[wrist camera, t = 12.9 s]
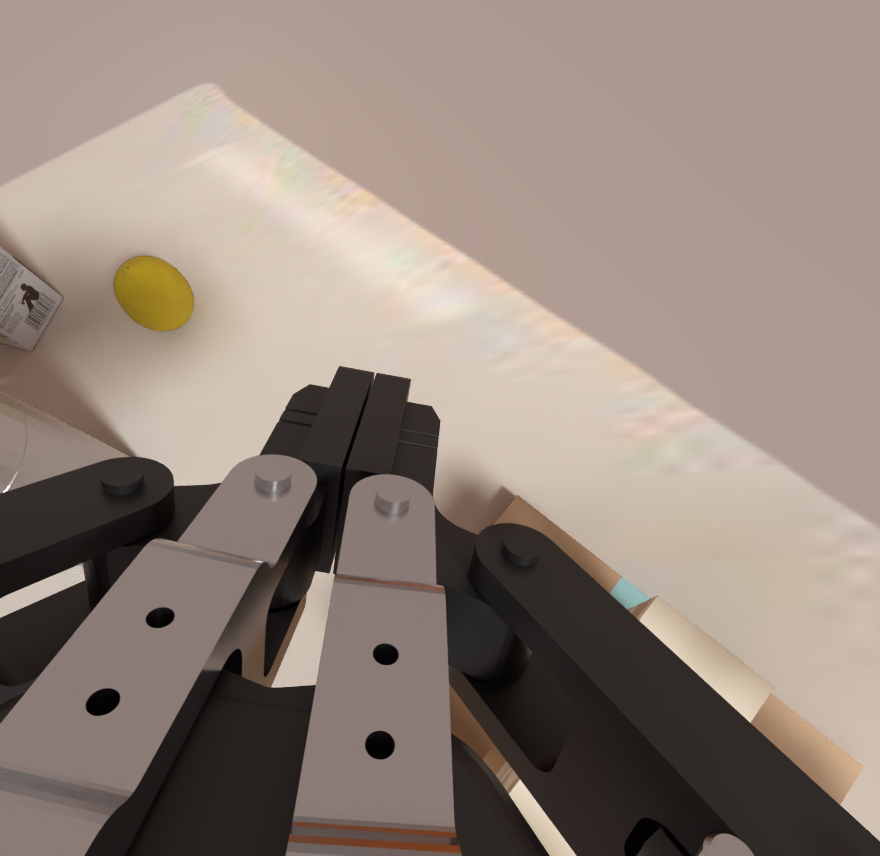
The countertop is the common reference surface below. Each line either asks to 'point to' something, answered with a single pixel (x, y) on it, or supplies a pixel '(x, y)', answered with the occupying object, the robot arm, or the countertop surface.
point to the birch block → (700, 656)
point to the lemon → (153, 293)
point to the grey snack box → (23, 303)
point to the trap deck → (773, 717)
